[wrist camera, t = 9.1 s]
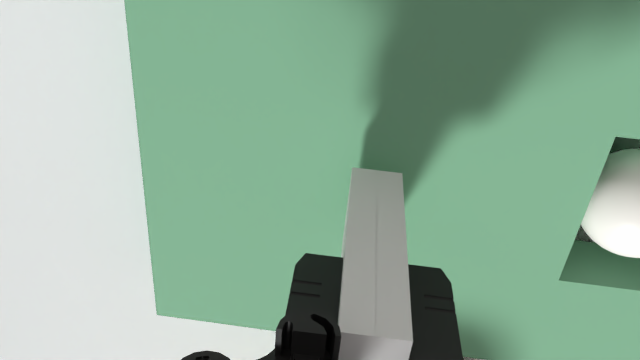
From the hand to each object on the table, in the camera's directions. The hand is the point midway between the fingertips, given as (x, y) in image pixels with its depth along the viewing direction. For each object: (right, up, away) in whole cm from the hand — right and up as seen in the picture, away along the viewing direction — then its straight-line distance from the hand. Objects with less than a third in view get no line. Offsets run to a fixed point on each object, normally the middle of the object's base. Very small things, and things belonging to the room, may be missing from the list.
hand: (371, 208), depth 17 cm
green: (+4, +1, +3) cm, 5 cm away
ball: (+9, 0, +1) cm, 9 cm away
